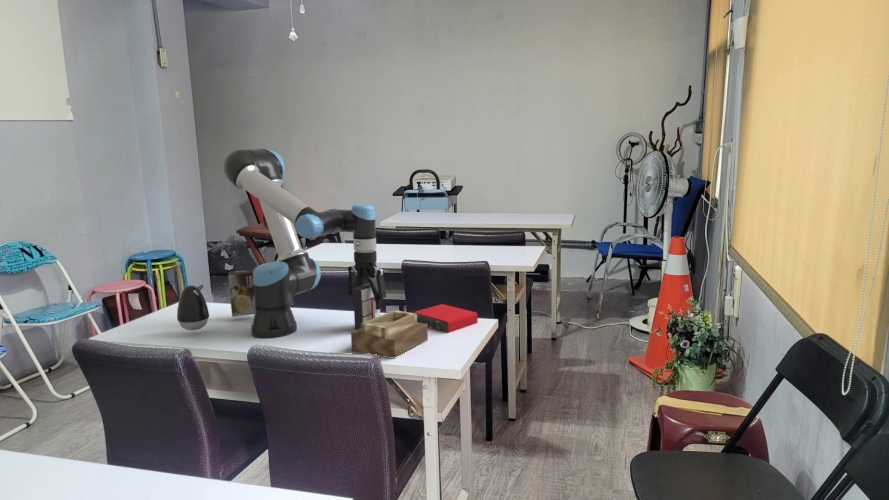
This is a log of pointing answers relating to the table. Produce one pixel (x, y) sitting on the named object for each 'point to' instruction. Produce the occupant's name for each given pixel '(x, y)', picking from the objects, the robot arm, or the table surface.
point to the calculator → (362, 304)
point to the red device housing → (446, 318)
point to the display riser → (389, 334)
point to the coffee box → (241, 292)
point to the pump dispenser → (192, 308)
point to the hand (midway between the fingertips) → (367, 316)
